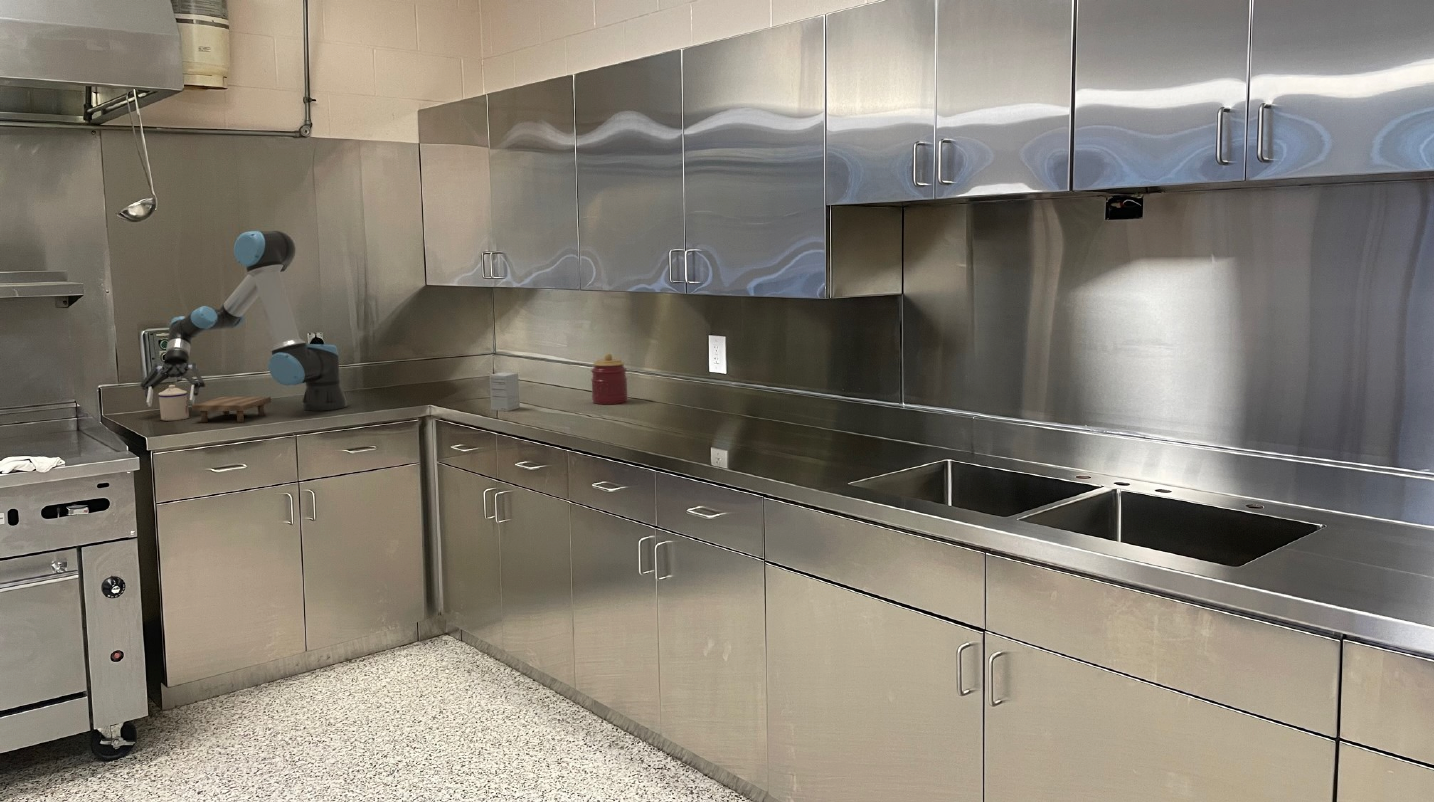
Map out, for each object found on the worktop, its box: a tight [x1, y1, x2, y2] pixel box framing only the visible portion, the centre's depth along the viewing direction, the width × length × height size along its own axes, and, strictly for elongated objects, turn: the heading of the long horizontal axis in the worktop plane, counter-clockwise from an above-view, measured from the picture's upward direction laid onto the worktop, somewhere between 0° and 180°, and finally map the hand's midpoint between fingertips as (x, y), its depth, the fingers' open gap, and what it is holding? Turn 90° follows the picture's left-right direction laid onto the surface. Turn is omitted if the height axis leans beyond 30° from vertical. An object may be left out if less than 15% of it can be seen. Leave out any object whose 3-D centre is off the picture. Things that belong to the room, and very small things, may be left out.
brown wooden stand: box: [191, 396, 272, 423], centre depth 365 cm, size 18×18×6 cm
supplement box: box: [489, 371, 521, 412], centre depth 373 cm, size 7×7×13 cm
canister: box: [590, 353, 629, 405], centre depth 384 cm, size 13×13×18 cm
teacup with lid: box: [157, 384, 190, 422], centre depth 367 cm, size 12×9×12 cm
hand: (170, 403), depth 366 cm, fingers open, 13 cm apart
